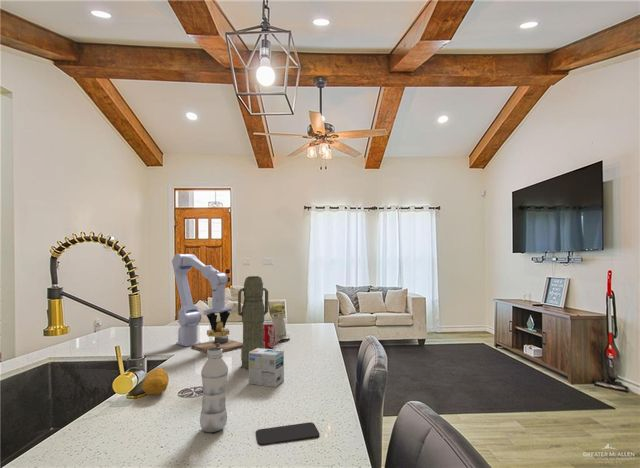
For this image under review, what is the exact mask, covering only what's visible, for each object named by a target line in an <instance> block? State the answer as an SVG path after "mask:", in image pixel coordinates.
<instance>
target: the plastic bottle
mask: <svg viewBox="0 0 640 468" xmlns="http://www.w3.org/2000/svg"><path fill="white" fill-rule="evenodd" d="M223 357H224V354H223V353H222V348H210V349H208V350H207V352H206V358H207V360H206V361H205V363H204V364H203V366H202V368H201V383H202V384H201V385H202V406H201V412H200V417H199V424H200V428H201V430H202V431H203V432H206V433H215V432H218V431H221V430H223V429H224V428H225V426H226V425H227V421H228V412H227V408H226V407H227V406H226V386H227V379H228V373H229V367H228V364H226V362H225V361H224V359H223Z"/></svg>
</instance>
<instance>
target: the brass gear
mask: <svg viewBox="0 0 640 468" xmlns="http://www.w3.org/2000/svg"><path fill="white" fill-rule="evenodd" d="M226 335H227V336H229V335H230V329H229V328H223V321H221V320H216V329H215V330H212V329H207V330H206V336H207V337H213V338H215V337H220V336H226Z"/></svg>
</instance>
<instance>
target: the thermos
mask: <svg viewBox="0 0 640 468" xmlns="http://www.w3.org/2000/svg"><path fill="white" fill-rule="evenodd" d="M242 292H243V304H242ZM263 297H264V299H263ZM268 312H269V290H268V289H267V288H266V287H264V282H263V279H262V277H260V276H259V275H256V276H255V275H252V276H251V275H250V276H247V277H245V279H244V283H243V287H242V288H240V289H239V290H238V292H237V314H238V315H237V316H241V322H242V343H243V346H242V348H240V351H241V353H240V361H241V368H242V369H244V370H245V369H246V370H249V352H250V351H253V350H255V349H257V348H261V349H264V347H263V322H265V316H266V314H268Z"/></svg>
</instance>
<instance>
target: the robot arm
mask: <svg viewBox="0 0 640 468" xmlns="http://www.w3.org/2000/svg"><path fill="white" fill-rule="evenodd" d="M171 263H172V264H171V265H172V268H173V272H174V277H175V283H176V286H177V291H178V296H179V299H180V306H181V308H180V309H179V310H178V311H177V314H178V316H177V317H178V318H177V320H178V321H177V322H178V324H179V325H180V326H179V328H178V329H177V330H178V331H177V334H178V335H177V342H176V344H178V345H180V346H184V347H192V345H194V344H199V343H202V342H201V341H198V327H199V325H200V323H201V321H202V315H203V316H206V317H207V319H208V321H209V323H210V328H211V329H212V330H215V329H216V321H217V319H218V315H216V314H219V319H220V320H219V321H223V329H226V324H227V320H228V318H229V317H230V315H231V312H233V307H232V306H226V285H227V283H228V281H229V278H228V275H227V273H225V272H221V271H220V270H218V269H216V268H215V267H213V265H211V264H209V265H208V264H207V265H205V264H204V263H203V262H202V260H200V259H199V258H198V257H197V255H195V254H194V253H183V254H182V253H175V254H174V256H173V258H172V260H171ZM193 267H194V268H195V269H196V270H198V271H199V272H200V274H201V276H202V277H204V278H205V279H206V280H208V281H209V284H210V287H211V291H212V292H211V296H212V297H211V308H210V309H204V310H203V313H201V312H200V310H199V307H198V306H197V305H196V304H194V301H193V297H192V292H191V287H190V285H189V284H190V282H189V280H188V279H189V278H188V276H187V275H188V272H190V270H191V269H192V268H193ZM211 329H210V330H211Z"/></svg>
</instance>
